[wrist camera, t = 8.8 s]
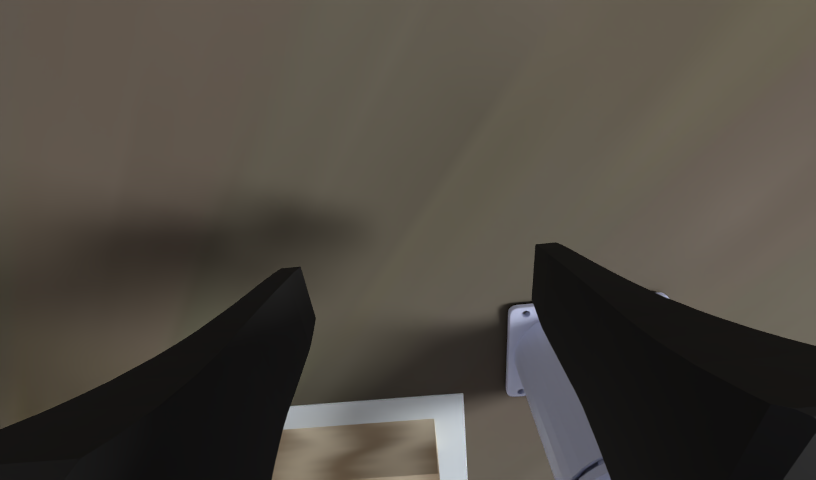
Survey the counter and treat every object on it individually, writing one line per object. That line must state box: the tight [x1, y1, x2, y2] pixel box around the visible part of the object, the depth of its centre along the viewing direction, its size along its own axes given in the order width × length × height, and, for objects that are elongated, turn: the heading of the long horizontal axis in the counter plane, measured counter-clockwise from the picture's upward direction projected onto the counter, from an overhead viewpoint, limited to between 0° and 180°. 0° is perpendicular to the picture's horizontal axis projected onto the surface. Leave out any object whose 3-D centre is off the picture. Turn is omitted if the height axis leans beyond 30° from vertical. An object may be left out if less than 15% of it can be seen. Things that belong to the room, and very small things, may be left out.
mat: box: [283, 393, 468, 480], centre depth 30 cm, size 16×16×1 cm
